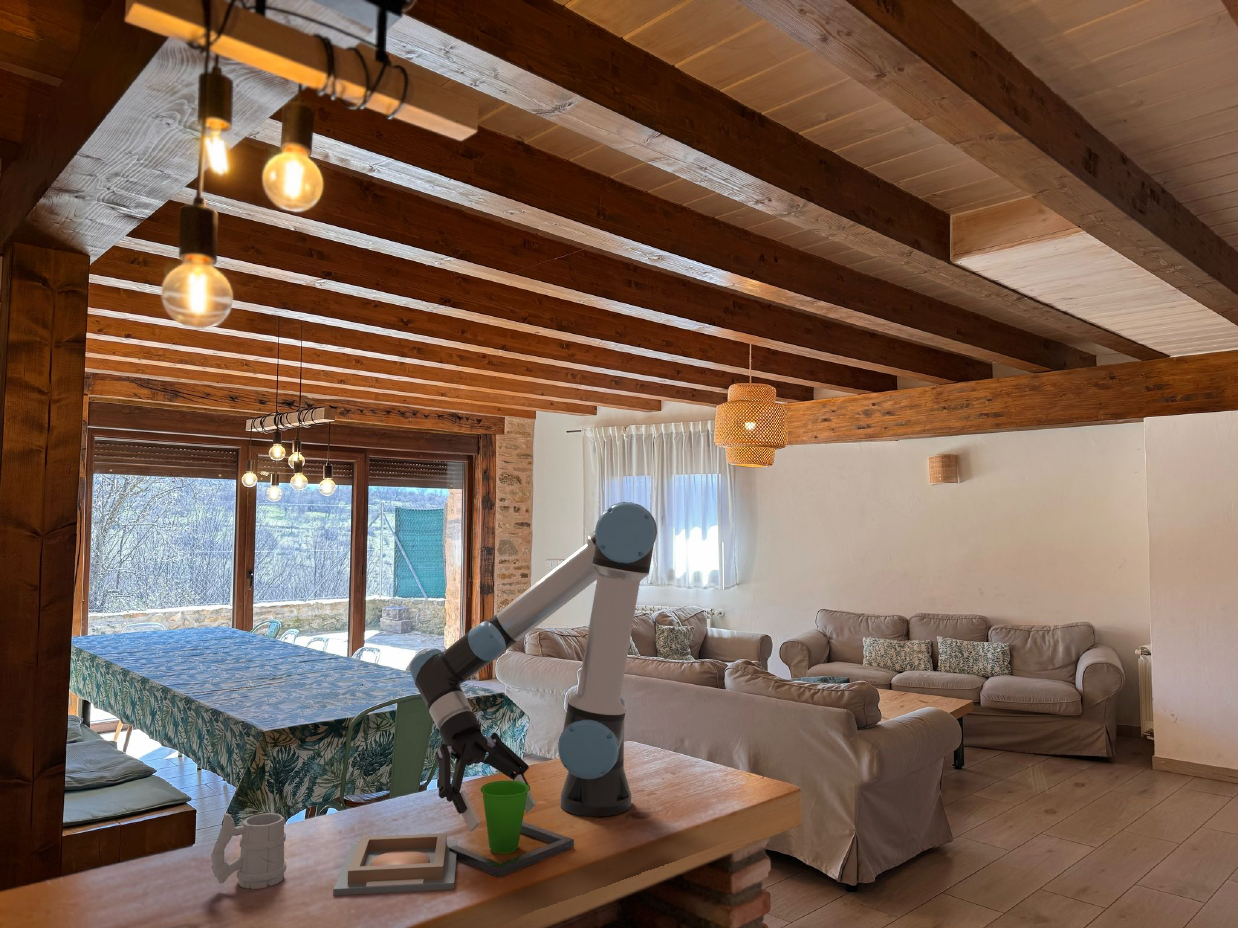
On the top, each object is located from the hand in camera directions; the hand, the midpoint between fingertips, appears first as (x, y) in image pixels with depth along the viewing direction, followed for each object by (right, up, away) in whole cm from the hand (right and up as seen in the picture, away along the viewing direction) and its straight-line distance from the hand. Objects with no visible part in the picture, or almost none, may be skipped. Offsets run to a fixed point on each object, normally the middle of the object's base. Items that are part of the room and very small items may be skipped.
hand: (504, 817), depth 157 cm
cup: (0, -6, 0) cm, 6 cm away
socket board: (-17, -5, -10) cm, 20 cm away
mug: (-40, -4, -16) cm, 43 cm away
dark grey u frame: (+2, -6, -1) cm, 6 cm away
